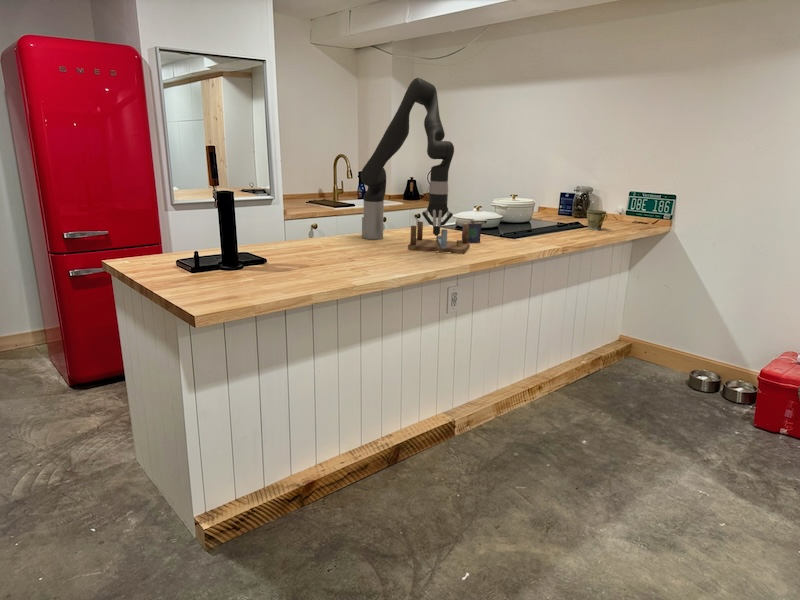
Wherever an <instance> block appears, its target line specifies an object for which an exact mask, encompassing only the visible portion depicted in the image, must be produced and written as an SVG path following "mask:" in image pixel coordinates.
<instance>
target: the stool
mask: <svg viewBox="0 0 800 600" xmlns="http://www.w3.org/2000/svg"><path fill="white" fill-rule="evenodd" d="M462 228H463V241H462V239H457V240H456V241H453V240H447V246H446V249H443V248H441V247H440V245H439V243H438V241H436V239H427V238H426V239H425V238H424V239H423V235H424V234H423V233H424V231H423V229H424V221H419V220H418V221H417V225H410V242H409V244H408V245H407V250H408V249H409V250H408V251H415V250H423V251H422V252H428V251H439V252H438V253H441V252H451V253H450V254H454V253H462V254H461V255H465V254H466V253H467V251H468V250H469V249H470V246H471V245H470V244H471V243H468V233H469V225H467V224H464V225H463V224H462ZM464 253H465V254H464Z"/></svg>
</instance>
